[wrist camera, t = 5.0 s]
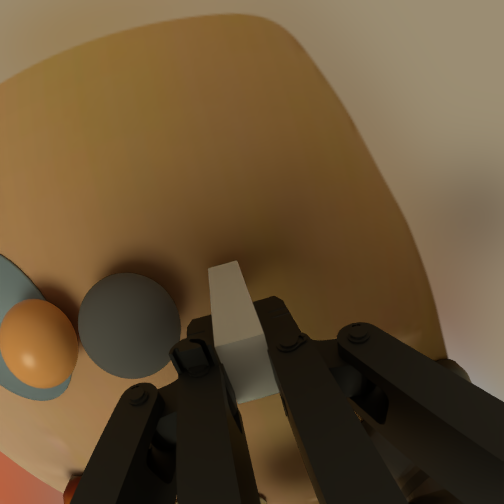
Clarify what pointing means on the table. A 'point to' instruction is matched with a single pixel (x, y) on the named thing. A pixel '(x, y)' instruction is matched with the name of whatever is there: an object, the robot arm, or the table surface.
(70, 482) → the fruit
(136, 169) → the table surface
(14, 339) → the orange ball
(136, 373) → the dark grey ball
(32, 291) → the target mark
